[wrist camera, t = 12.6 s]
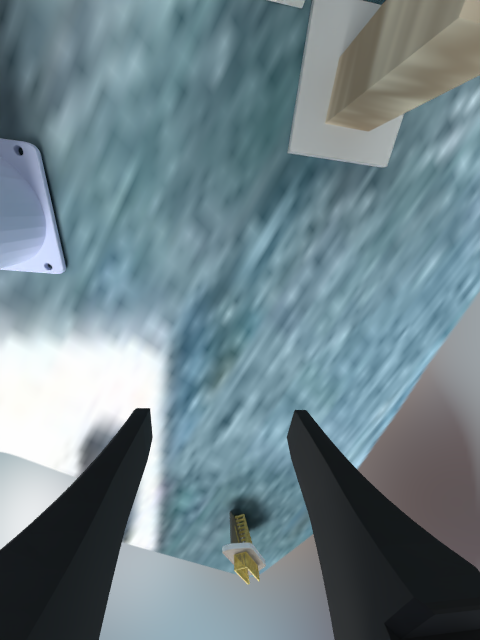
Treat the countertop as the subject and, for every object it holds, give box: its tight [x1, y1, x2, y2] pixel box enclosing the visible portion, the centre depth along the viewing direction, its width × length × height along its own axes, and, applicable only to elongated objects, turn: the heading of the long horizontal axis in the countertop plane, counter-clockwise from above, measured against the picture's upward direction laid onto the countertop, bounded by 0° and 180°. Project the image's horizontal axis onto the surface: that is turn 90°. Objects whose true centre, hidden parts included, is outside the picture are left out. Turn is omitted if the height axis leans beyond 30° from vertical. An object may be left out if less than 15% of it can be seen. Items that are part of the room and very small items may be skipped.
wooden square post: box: [325, 0, 480, 132], centre depth 10 cm, size 3×3×9 cm
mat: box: [288, 0, 404, 168], centre depth 14 cm, size 7×7×1 cm
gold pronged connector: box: [222, 512, 266, 584], centre depth 34 cm, size 12×18×7 cm, turn 19°
